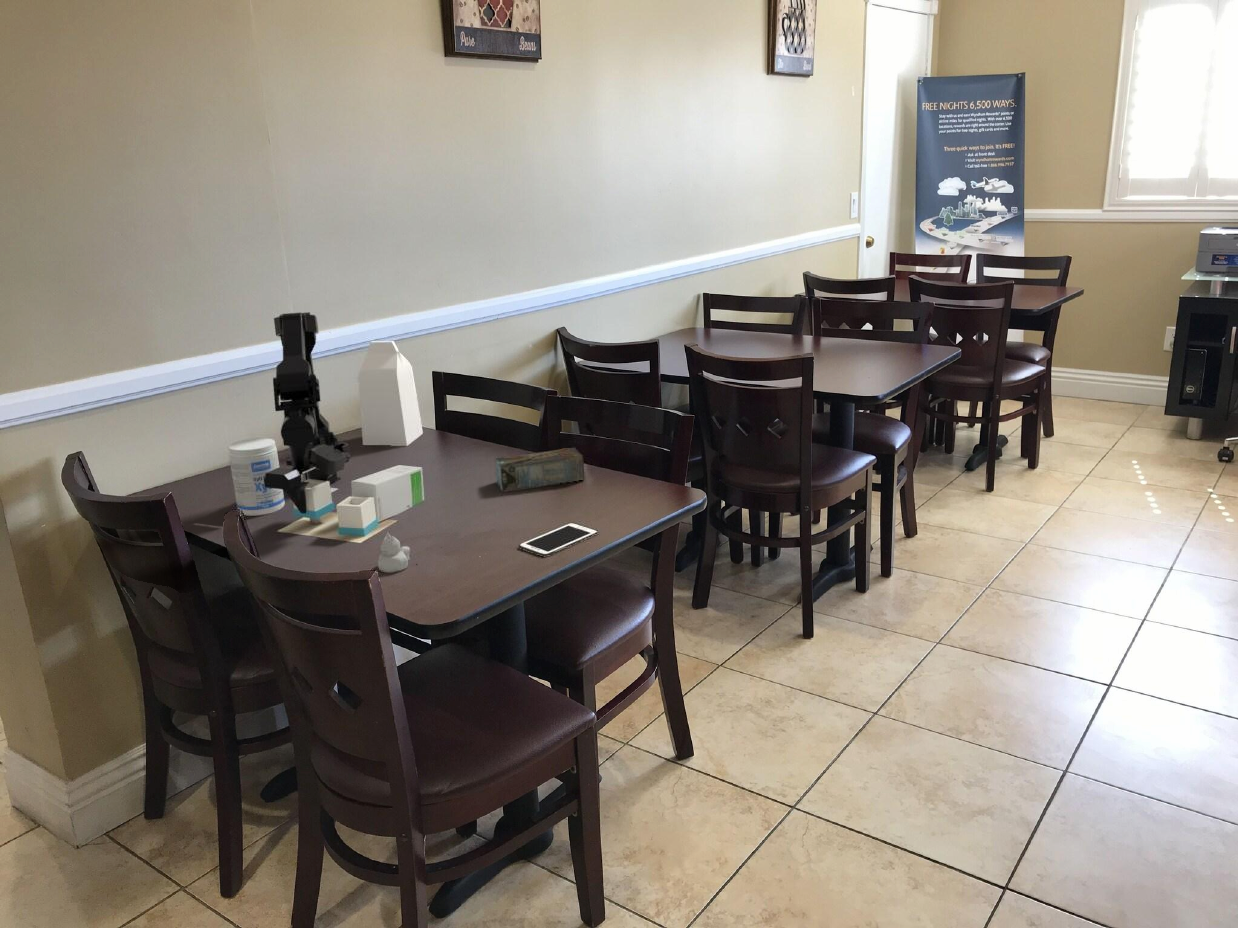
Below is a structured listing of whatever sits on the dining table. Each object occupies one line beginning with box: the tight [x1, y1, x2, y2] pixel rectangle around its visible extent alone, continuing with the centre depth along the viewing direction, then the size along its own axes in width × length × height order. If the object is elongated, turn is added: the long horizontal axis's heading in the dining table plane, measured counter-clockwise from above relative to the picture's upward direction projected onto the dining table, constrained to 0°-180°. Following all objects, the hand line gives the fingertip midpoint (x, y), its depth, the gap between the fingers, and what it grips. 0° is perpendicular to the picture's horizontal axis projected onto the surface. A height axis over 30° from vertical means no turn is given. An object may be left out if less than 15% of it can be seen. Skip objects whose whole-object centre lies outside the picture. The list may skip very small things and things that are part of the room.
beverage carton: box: [494, 447, 585, 493], centre depth 213 cm, size 8×19×7 cm, turn 107°
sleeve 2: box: [335, 495, 379, 536], centre depth 186 cm, size 6×6×6 cm
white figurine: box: [377, 531, 411, 574], centre depth 169 cm, size 5×7×8 cm
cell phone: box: [518, 522, 599, 556], centre depth 180 cm, size 8×15×1 cm, turn 138°
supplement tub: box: [227, 437, 285, 517], centre depth 201 cm, size 10×10×15 cm
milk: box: [357, 340, 424, 447], centre depth 247 cm, size 12×12×26 cm
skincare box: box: [350, 464, 425, 522], centre depth 196 cm, size 8×7×16 cm
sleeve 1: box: [292, 479, 336, 519], centre depth 190 cm, size 6×6×6 cm
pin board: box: [277, 511, 398, 544], centre depth 189 cm, size 20×12×5 cm, turn 67°
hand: (313, 507), depth 191 cm, fingers closed on sleeve 1, 6 cm apart
